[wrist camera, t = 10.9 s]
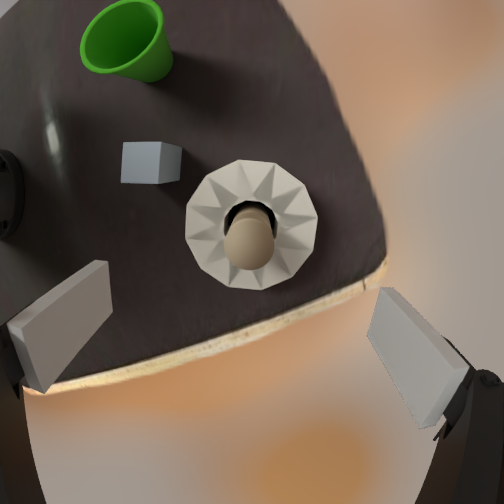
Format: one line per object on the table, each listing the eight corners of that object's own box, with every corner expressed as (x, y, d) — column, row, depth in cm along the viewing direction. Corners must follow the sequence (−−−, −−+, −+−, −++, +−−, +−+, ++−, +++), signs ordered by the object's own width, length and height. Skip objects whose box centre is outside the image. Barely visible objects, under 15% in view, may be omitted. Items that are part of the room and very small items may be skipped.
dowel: (233, 234, 35) (222, 267, 24) (236, 201, 34) (225, 219, 22) (267, 237, 35) (271, 272, 24) (270, 205, 34) (277, 224, 22)
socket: (193, 267, 36) (184, 282, 31) (199, 158, 33) (190, 156, 28) (299, 277, 36) (305, 293, 32) (314, 169, 33) (323, 169, 28)
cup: (195, 82, 30) (171, 49, 19) (128, 107, 31) (82, 89, 20) (182, 27, 27) (157, -16, 17) (118, 52, 28) (77, 22, 18)
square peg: (148, 178, 33) (120, 182, 26) (151, 146, 32) (123, 142, 24) (179, 180, 33) (158, 184, 26) (182, 147, 32) (161, 141, 25)
